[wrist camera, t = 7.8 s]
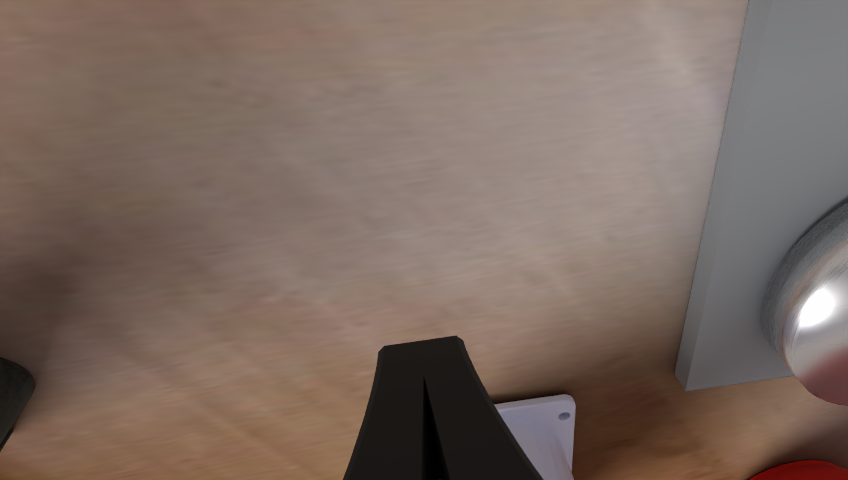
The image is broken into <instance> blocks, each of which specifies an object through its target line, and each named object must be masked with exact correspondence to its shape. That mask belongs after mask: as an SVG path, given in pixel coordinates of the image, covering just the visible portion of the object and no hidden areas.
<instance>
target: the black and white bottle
mask: <svg viewBox="0 0 848 480" xmlns="http://www.w3.org/2000/svg"><path fill="white" fill-rule="evenodd" d="M34 387H35V386H34V381H33V379H32V377H31V376H30V374H29V373H28V372H27V371H26V370H25V369H23V368H21V367H20V366H18V365H17V364H14V363H12V362H10V361H7V360H4V359H1V358H0V451H1V450H2V448H3V447H4V445H5V443H6V442H7V440H8V439H9V437H10V435H11V434H12V432H13V430H12V429H11V426H12V425H13V423H14V422H15V420H16V419H17V417H18V415H19V414H20V412H21V411H22V409H23V408H24V406H25V404H26V403H27V401H28V400H29V398H30V397H31V395H32V394H33V391H34Z"/></svg>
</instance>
